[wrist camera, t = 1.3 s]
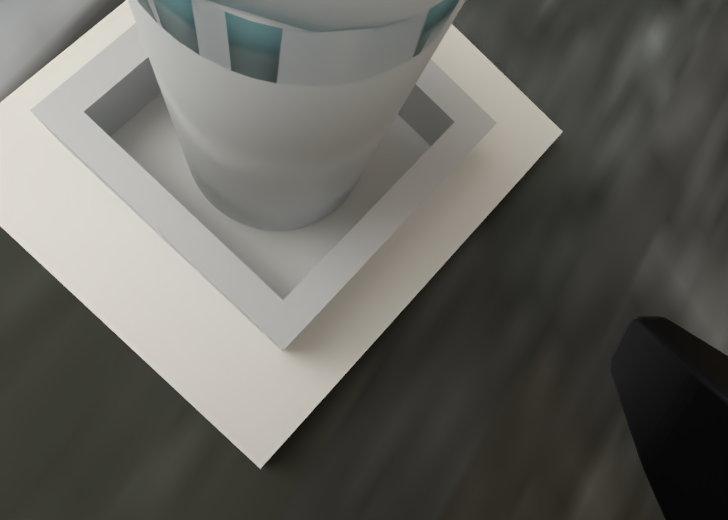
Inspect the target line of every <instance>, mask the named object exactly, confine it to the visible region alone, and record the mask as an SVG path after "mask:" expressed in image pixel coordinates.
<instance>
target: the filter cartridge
mask: <svg viewBox="0 0 728 520" xmlns="http://www.w3.org/2000/svg"><path fill="white" fill-rule="evenodd" d="M464 2H465V0H128V3H129V5H130V8H131V11H132V14H133V16H134V19H135V22H136V24H137V27H138V30H139V33H140V35H141V38H142V41H143V43H144V46H145V49H146V52H147V54H148V57H149V60H150V63H151V65H152V68H153V71H154V73H155V76H156V79H157V82H158V84H159V87H160V90H161V92H162V95H163V98H164V101H165V103H166V106H167V109H168V111H169V114H170V117H171V120H172V122H173V125H174V128H175V130H176V133H177V136H178V139H179V141H180V144H181V147H182V150H183V152H184V155H185V158H186V160H187V163H188V166H189V169H190V171H191V174H192V177H193V179H194V180H195V182H196V184H197V186H198V188H199V189H200V191H201V192H202V193H203V195H204V196H205V197H206V198H207V200H208V201H209V202H210V203H211V204H212V205H213V206H214V207H216V208H217V209H218V210H219V211H220V212H222V213H223V214H225V215H226V216H228V217H229V218H231V219H233V220H235V221H237V222H239V223H241V224H243V225H246V226H249V227H253V228H256V229H262V230H269V231H286V230H293V229H298V228H303V227H306V226H309V225H311V224H314V223H316V222H318V221H320V220H322V219H324V218H325V217H326V216H328V215H329V214H331V213H332V212H333V211H335V210H336V209H337V208H338V207H339V206H340V205H341V204H342V203H343V202H344V200H345V199H346V198H347V197H348V195H349V194H350V192H351V191H352V189H353V188H354V186H355V184H356V183H357V181H358V179H359V178H360V176H361V174H362V173H363V171H364V169H365V168H366V166H367V164H368V163H369V161H370V159H371V158H372V156H373V154H374V153H375V151H376V149H377V147H378V146H379V144H380V142H381V141H382V139H383V137H384V136H385V134H386V132H387V131H388V129H389V127H390V126H391V124H392V122H393V121H394V119H395V117H396V116H397V114H398V112H399V111H400V109H401V107H402V106H403V104H404V102H405V101H406V99H407V97H408V96H409V94H410V92H411V91H412V89H413V87H414V86H415V84H416V82H417V81H418V79H419V77H420V76H421V74H422V72H423V71H424V69H425V67H426V66H427V64H428V62H429V61H430V59H431V57H432V56H433V54H434V52H435V51H436V49H437V47H438V46H439V44H440V42H441V41H442V39H443V37H444V36H445V34H446V32H447V31H448V29H449V27H450V25H451V24H452V22H453V20H454V19H455V17H456V15H457V14H458V12H459V10H460V9H461V7H462V5H463V4H464Z"/></svg>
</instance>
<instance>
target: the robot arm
mask: <svg viewBox="0 0 728 520" xmlns="http://www.w3.org/2000/svg"><path fill="white" fill-rule="evenodd" d="M611 373H612V377H613V380H614V383H615V386H616V389H617V392H618V395H619V398H620V401H621V404H622V407H623V410H624V413H625V416H626V419H627V422H628V425H629V428H630V431H631V434H632V437H633V440H634V443H635V446H636V449H637V452H638V455H639V458H640V461H641V463H642V466H643V469H644V471H645V474H646V476H647V479H648V481H649V483H650V486H651V488H652V490H653V493H654V495H655V497H656V499H657V501H658V504H659V506H660V508H661V510H662V512H663V515H664V517H665V519H666V520H728V356H727V355H725V354H724V353H722V352H720V351H719V350H717V349H715V348H714V347H712V346H711V345H709V344H707V343H706V342H704V341H702V340H701V339H699V338H697V337H696V336H694V335H693V334H691V333H689V332H688V331H686V330H684V329H683V328H681V327H679V326H678V325H676V324H675V323H673V322H671V321H670V320H668V319H666V318H664V317H659V316H649V317H636V318H633V319H632V320H631V321H630V322H629V323H628V325H627V327H626V329H625V331H624V333H623V335H622V337H621V339H620V341H619V343H618V345H617V347H616V349H615V351H614V353H613V356H612V358H611Z"/></svg>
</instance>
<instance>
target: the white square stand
mask: <svg viewBox="0 0 728 520" xmlns="http://www.w3.org/2000/svg"><path fill="white" fill-rule="evenodd" d="M562 132H563V131H562V130H560V129H559V128H558V127H557V126H556V125H555V124H554V123H553V122H552V121H551V120H550V119H549V118H548V117H547V116H546V115H545V114H544V113H543V112H542V111H541V110H540V109H539V108H538V107H537V106H536V105H535V104H534V103H533V102H532V101H531V100H530V99H529V98H528V97H527V96H525V95H524V94H523V93H522V92H521V91H520V90H519V89H518V88H517V87H516V86H515V85H514V84H513V83H512V82H511V81H510V80H509V79H508V78H507V77H506V76H505V75H504V74H503V73H502V72H501V71H500V70H499V69H498V68H497V67H496V66H495V65H494V64H493V63H492V62H490V61H489V60H488V59H487V58H486V57H485V56H484V55H483V54H482V53H481V52H480V51H479V50H478V49H477V48H476V47H475V46H474V45H473V44H472V43H471V42H470V41H469V40H468V39H467V38H466V37H465V36H464V35H463V34H462V33H461V32H460V31H459V30H458V29H457V28H455V27H454V26H453V25H452V24H451V25H450V27H449V29H448V31H447V32H446V34H445V36H444V37H443V39H442V41H441V42H440V44H439V46H438V47H437V49H436V51H435V52H434V54H433V56H432V57H431V59H430V61H429V62H428V64H427V66H426V67H425V69H424V71H423V72H422V74H421V76H420V77H419V79H418V81H417V82H416V84H415V86H414V87H413V89H412V91H411V92H410V94H409V96H408V97H407V99H406V101H405V102H404V104H403V106H402V107H401V109H400V111H399V112H398V114H397V116H396V117H395V119H394V121H393V122H392V124H391V126H390V127H389V129H388V131H387V132H386V134H385V136H384V137H383V139H382V141H381V142H380V144H379V146H378V147H377V149H376V151H375V153H374V154H373V156H372V158H371V159H370V161H369V163H368V164H367V166H366V168H365V169H364V171H363V173H362V174H361V176H360V178H359V179H358V181H357V183H356V184H355V186H354V188H353V189H352V191H351V192H350V194H349V195H348V197H347V198H346V199H345V200H344V202H343V203H342V204H341V205H340V206H339V207H338V208H337V209H336V210H335V211H333V212H332V213H331V214H329V215H328V216H326V217H325V218H324V219H322V220H320V221H318V222H316V223H314V224H311V225H309V226H306V227H303V228H298V229H293V230H286V231H269V230H262V229H256V228H253V227H249V226H246V225H243V224H241V223H239V222H237V221H235V220H233V219H231V218H229V217H228V216H226V215H225V214H223V213H222V212H220V211H219V210H218V209H217V208H216V207H214V206H213V205H212V204H211V203H210V202H209V201H208V200H207V198H206V197H205V196H204V195H203V193H202V192H201V191H200V189H199V188H198V186H197V184H196V182H195V180H194V179H193V177H192V174H191V171H190V169H189V166H188V163H187V160H186V158H185V155H184V152H183V150H182V147H181V144H180V141H179V139H178V136H177V133H176V130H175V128H174V125H173V122H172V120H171V117H170V114H169V111H168V109H167V106H166V103H165V101H164V98H163V95H162V92H161V90H160V87H159V84H158V82H157V79H156V76H155V73H154V71H153V68H152V65H151V63H150V60H149V57H148V54H147V52H146V49H145V46H144V43H143V41H142V38H141V35H140V33H139V30H138V27H137V24H136V22H135V19H134V16H133V14H132V11H131V8H130V5H129V3H128V0H126V1H125V2H123V3H122V4H121V5H120V6H119V7H117V8H116V9H115V10H114V11H112V12H111V13H110V14H109V15H107V16H106V17H105V18H104V19H103V20H101V21H100V22H99V23H98V24H96V25H95V26H94V27H93V28H91V29H90V30H89V31H88V32H87V33H85V34H84V35H83V36H82V37H80V38H79V39H78V40H77V41H75V42H74V43H73V44H72V45H71V46H69V47H68V48H67V49H66V50H64V51H63V52H62V53H61V54H59V55H58V56H57V57H56V58H55V59H53V60H52V61H51V62H50V63H48V64H47V65H46V66H45V67H43V68H42V69H41V70H40V71H39V72H37V73H36V74H35V75H34V76H32V77H31V78H30V79H29V80H27V81H26V82H25V83H24V84H23V85H21V86H20V87H19V88H18V89H16V90H15V91H14V92H13V93H11V94H10V95H9V96H8V97H7V98H5V99H4V100H3V101H2V102H0V226H1V227H2V228H3V229H4V230H5V231H6V232H7V233H8V234H9V235H10V236H11V237H13V238H14V239H15V240H16V241H17V242H18V243H19V244H20V245H21V246H22V247H23V248H24V249H25V250H26V251H28V252H29V253H30V254H31V255H32V256H33V257H34V258H35V259H36V260H37V261H38V262H39V263H40V264H41V265H43V266H44V267H45V268H46V269H47V270H48V271H49V272H50V273H51V274H52V275H53V276H54V277H55V278H56V279H58V280H59V281H60V282H61V283H62V284H63V285H64V286H65V287H66V288H67V289H68V290H69V291H70V292H71V293H72V294H74V295H75V296H76V297H77V298H78V299H79V300H80V301H81V302H82V303H83V304H84V305H85V306H86V307H87V308H89V309H90V310H91V311H92V312H93V313H94V314H95V315H96V316H97V317H98V318H99V319H100V320H101V321H102V322H104V323H105V324H106V325H107V326H108V327H109V328H110V329H111V330H112V331H113V332H114V333H115V334H116V335H117V336H119V337H120V338H121V339H122V340H123V341H124V342H125V343H126V344H127V345H128V346H129V347H130V348H131V349H132V350H134V351H135V352H136V353H137V354H138V355H139V356H140V357H141V358H142V359H143V360H144V361H145V362H146V363H147V364H149V365H150V366H151V367H152V368H153V369H154V370H155V371H156V372H157V373H158V374H159V375H160V376H161V377H162V378H163V379H165V380H166V381H167V382H168V383H169V384H170V385H171V386H172V387H173V388H174V389H175V390H176V391H177V392H178V393H180V394H181V395H182V396H183V397H184V398H185V399H186V400H187V401H188V402H189V403H190V404H191V405H192V406H193V407H195V408H196V409H197V410H198V411H199V412H200V413H201V414H202V415H203V416H204V417H205V418H206V419H207V420H208V421H210V422H211V423H212V424H213V425H214V426H215V427H216V428H217V429H218V430H219V431H220V432H221V433H222V434H223V435H225V436H226V437H227V438H228V439H229V440H230V441H231V442H232V443H233V444H234V445H235V446H236V447H237V448H238V449H240V450H241V451H242V452H243V453H244V454H245V455H246V456H247V457H248V458H249V459H250V460H251V461H252V462H253V463H254V464H256V465H257V466H258V467H259V468H260V469H261V468H262V467H263V465H264V464H265V463H266V462H267V461H268V460H269V459H270V458H271V457H272V455H273V454H274V453H275V452H276V451H277V450H278V449H279V448H280V446H281V445H282V444H283V443H284V442H285V441H286V440H287V439H288V438H289V436H290V435H291V434H292V433H293V432H294V431H295V430H296V429H297V428H298V426H299V425H300V424H301V423H302V422H303V421H304V420H305V419H306V417H307V416H308V415H309V414H310V413H311V412H312V411H313V410H314V409H315V407H316V406H317V405H318V404H319V403H320V402H321V401H322V400H323V399H324V397H325V396H326V395H327V394H328V393H329V392H330V391H331V390H332V389H333V387H334V386H335V385H336V384H337V383H338V382H339V381H340V380H341V378H342V377H343V376H344V375H345V374H346V373H347V372H348V371H349V370H350V368H351V367H352V366H353V365H354V364H355V363H356V362H357V361H358V360H359V358H360V357H361V356H362V355H363V354H364V353H365V352H366V351H367V350H368V348H369V347H370V346H371V345H372V344H373V343H374V342H375V341H376V339H377V338H378V337H379V336H380V335H381V334H382V333H383V332H384V331H385V329H386V328H387V327H388V326H389V325H390V324H391V323H392V322H393V321H394V319H395V318H396V317H397V316H398V315H399V314H400V313H401V312H402V310H403V309H404V308H405V307H406V306H407V305H408V304H409V303H410V302H411V300H412V299H413V298H414V297H415V296H416V295H417V294H418V293H419V292H420V290H421V289H422V288H423V287H424V286H425V285H426V284H427V283H428V282H429V280H430V279H431V278H432V277H433V276H434V275H435V274H436V273H437V271H438V270H439V269H440V268H441V267H442V266H443V265H444V264H445V263H446V261H447V260H448V259H449V258H450V257H451V256H452V255H453V254H454V253H455V251H456V250H457V249H458V248H459V247H460V246H461V245H462V244H463V243H464V241H465V240H466V239H467V238H468V237H469V236H470V235H471V234H472V232H473V231H474V230H475V229H476V228H477V227H478V226H479V225H480V224H481V222H482V221H483V220H484V219H485V218H486V217H487V216H488V215H489V214H490V212H491V211H492V210H493V209H494V208H495V207H496V206H497V205H498V203H499V202H500V201H501V200H502V199H503V198H504V197H505V196H506V195H507V193H508V192H509V191H510V190H511V189H512V188H513V187H514V186H515V185H516V183H517V182H518V181H519V180H520V179H521V178H522V177H523V176H524V175H525V173H526V172H527V171H528V170H529V169H530V168H531V167H532V166H533V164H534V163H535V162H536V161H537V160H538V159H539V158H540V157H541V156H542V154H543V153H544V152H545V151H546V150H547V149H548V148H549V147H550V146H551V144H552V143H553V142H554V141H555V140H556V139H557V138H558V137H559V136H560V134H561V133H562Z"/></svg>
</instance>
